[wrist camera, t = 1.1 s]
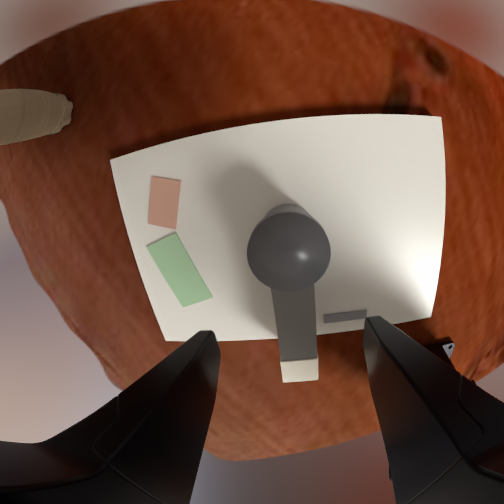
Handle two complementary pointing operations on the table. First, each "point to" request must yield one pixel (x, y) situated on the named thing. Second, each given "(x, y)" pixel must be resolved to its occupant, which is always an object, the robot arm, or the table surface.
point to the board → (288, 192)
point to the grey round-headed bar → (291, 282)
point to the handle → (31, 114)
